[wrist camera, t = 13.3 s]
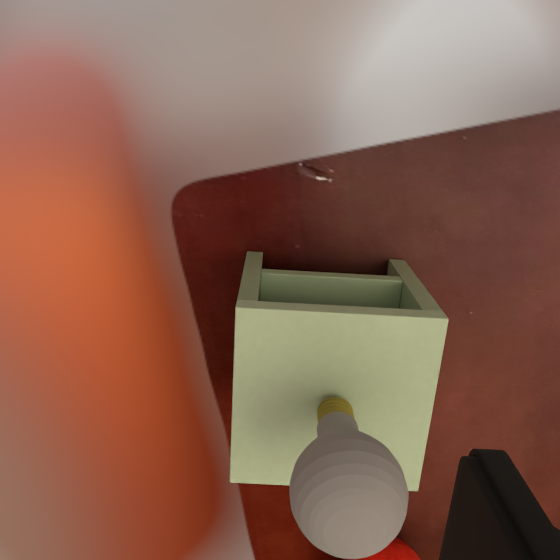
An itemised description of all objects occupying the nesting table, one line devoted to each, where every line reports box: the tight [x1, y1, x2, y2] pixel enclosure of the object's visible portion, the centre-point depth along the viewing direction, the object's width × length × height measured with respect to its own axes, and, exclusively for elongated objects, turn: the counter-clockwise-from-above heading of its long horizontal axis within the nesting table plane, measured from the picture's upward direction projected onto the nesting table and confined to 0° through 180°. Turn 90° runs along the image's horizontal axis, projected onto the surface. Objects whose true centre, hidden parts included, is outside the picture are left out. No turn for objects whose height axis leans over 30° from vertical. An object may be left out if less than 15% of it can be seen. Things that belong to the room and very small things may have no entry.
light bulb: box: [290, 397, 408, 559], centre depth 27 cm, size 5×5×10 cm
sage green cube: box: [230, 251, 449, 491], centre depth 37 cm, size 12×12×11 cm
